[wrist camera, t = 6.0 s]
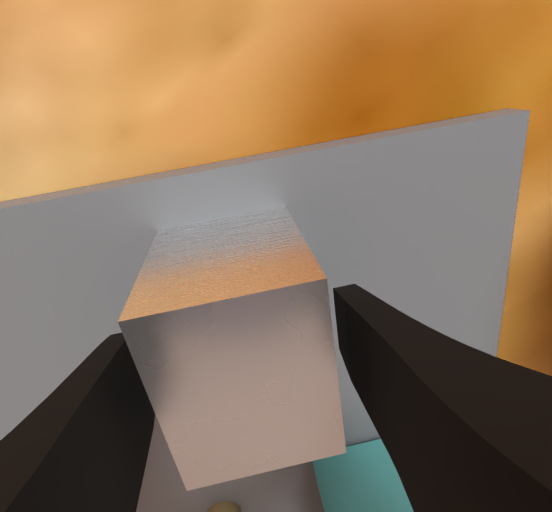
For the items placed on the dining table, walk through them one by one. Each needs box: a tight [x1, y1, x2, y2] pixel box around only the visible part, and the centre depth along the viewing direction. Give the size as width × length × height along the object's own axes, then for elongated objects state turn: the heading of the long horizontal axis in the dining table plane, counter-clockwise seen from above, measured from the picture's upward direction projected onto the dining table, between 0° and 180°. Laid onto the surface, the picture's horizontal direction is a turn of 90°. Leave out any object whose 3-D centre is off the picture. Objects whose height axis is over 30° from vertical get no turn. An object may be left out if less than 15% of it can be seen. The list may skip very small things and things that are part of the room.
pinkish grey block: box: [118, 206, 346, 491], centre depth 10 cm, size 4×5×5 cm
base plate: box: [0, 109, 530, 512], centre depth 15 cm, size 20×24×4 cm
